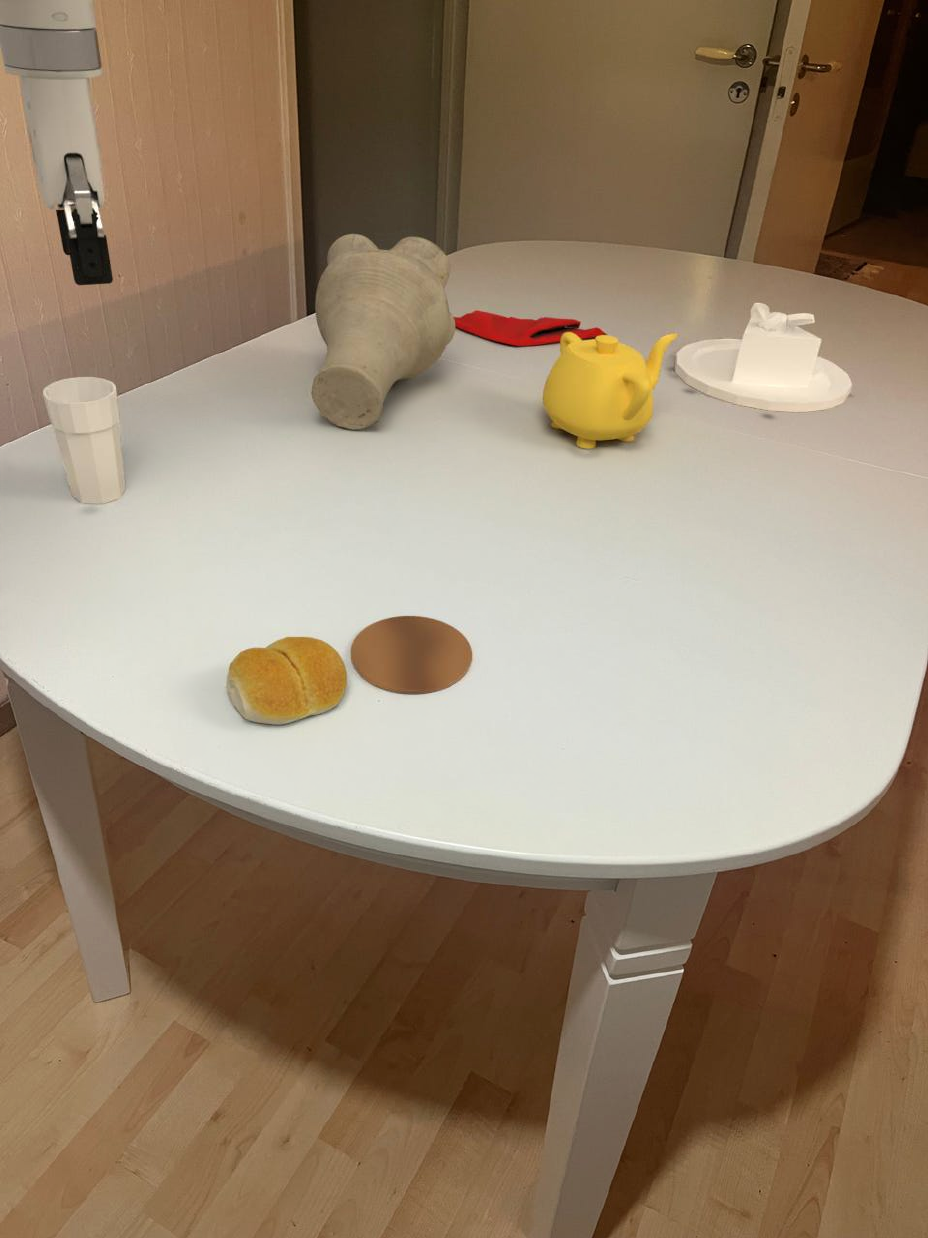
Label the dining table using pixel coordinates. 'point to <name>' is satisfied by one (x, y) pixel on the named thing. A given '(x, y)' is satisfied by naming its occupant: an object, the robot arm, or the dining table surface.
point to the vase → (378, 323)
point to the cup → (88, 436)
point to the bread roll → (286, 680)
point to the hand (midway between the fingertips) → (87, 267)
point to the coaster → (411, 654)
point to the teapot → (602, 388)
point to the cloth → (521, 328)
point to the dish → (766, 366)
